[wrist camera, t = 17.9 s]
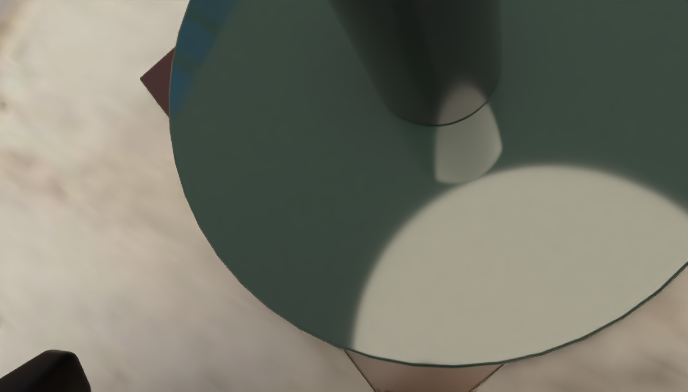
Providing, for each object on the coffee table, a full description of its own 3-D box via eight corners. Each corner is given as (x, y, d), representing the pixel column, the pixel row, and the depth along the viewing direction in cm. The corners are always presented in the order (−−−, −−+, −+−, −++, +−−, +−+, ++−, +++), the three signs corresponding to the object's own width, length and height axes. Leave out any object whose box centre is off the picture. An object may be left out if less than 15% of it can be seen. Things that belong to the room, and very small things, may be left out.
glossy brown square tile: (413, 438, 15) (411, 440, 15) (146, 83, 19) (138, 78, 18) (829, 95, 14) (839, 88, 14) (467, -203, 18) (466, -214, 18)
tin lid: (799, 359, 13) (1119, 390, 6) (183, 370, 16) (-53, 399, 9) (701, -210, 16) (848, -615, 9) (194, -108, 19) (19, -354, 12)
